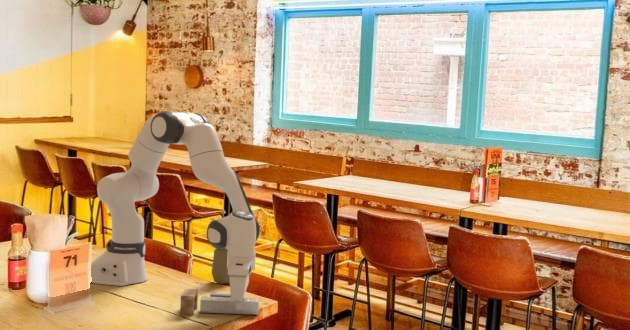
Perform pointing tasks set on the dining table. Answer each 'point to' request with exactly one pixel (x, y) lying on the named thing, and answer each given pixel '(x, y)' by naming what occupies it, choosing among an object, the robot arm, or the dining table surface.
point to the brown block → (189, 301)
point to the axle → (228, 305)
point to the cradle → (219, 295)
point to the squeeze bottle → (220, 266)
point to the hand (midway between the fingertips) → (239, 306)
